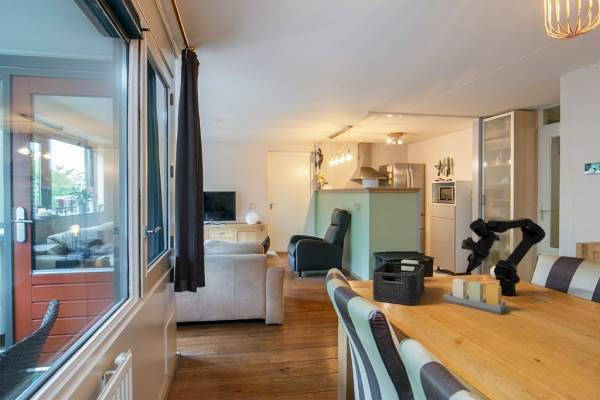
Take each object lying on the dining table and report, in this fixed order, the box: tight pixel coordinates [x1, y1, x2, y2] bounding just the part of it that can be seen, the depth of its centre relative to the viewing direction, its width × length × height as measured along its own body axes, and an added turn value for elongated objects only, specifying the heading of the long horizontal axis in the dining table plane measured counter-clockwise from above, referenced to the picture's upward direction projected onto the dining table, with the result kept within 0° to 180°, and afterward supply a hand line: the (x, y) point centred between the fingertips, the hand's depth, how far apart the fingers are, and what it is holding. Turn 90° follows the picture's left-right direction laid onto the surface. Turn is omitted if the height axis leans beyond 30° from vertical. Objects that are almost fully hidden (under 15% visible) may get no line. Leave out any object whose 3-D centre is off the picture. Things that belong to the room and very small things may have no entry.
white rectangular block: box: [452, 277, 468, 298], centre depth 152 cm, size 4×4×8 cm
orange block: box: [485, 284, 502, 306], centre depth 142 cm, size 4×4×8 cm
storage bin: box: [372, 261, 425, 306], centre depth 162 cm, size 29×19×13 cm
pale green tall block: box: [468, 280, 484, 301], centre depth 147 cm, size 4×4×8 cm
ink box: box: [400, 259, 420, 279], centre depth 187 cm, size 9×5×12 cm, turn 62°
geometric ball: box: [489, 265, 496, 280], centre depth 192 cm, size 8×8×8 cm
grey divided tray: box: [443, 291, 509, 316], centre depth 146 cm, size 8×23×3 cm, turn 41°
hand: (468, 270), depth 155 cm, fingers open, 9 cm apart
